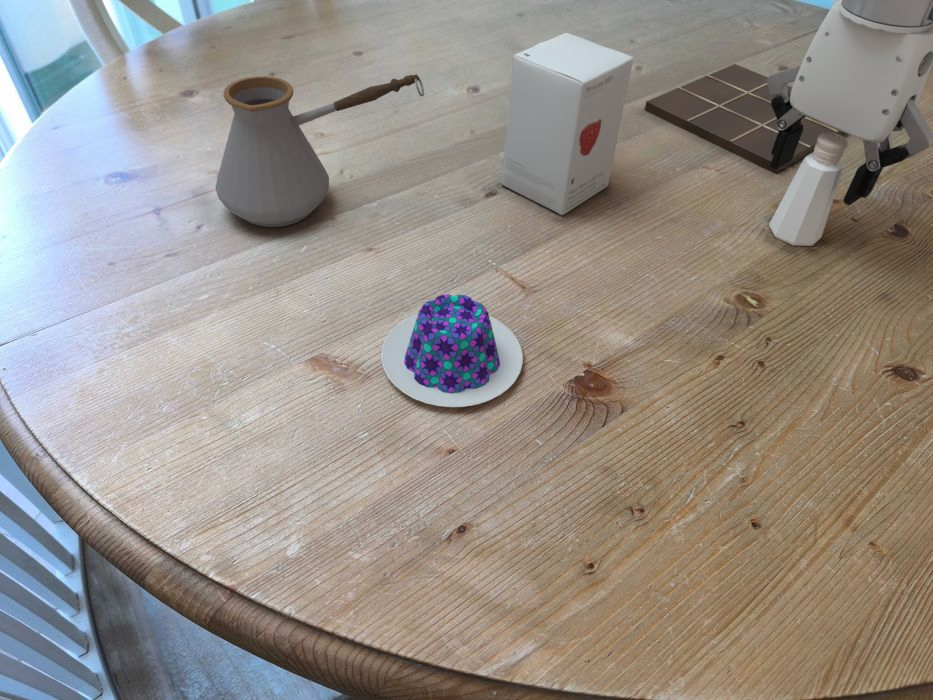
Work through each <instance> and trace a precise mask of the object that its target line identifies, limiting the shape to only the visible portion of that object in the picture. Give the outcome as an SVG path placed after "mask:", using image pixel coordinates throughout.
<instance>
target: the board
mask: <svg viewBox="0 0 933 700" xmlns="http://www.w3.org/2000/svg"><path fill="white" fill-rule="evenodd" d="M768 77H769V76H766V75H763V74H761V73H758V72H756V71H753V70H751V69H748V68H746V67H743V66H741V65H738V64H736V63H733V64H731V65H729V66H726V67H723V68H721V69H718V70H716V71H715V72H712V73H709V74H705V76H703V77H700V78H698V79H696V80H694V81H693V80H692V81H691V82H688V83H686V84H683V85H682V86H677V87H676V88H675V89H672V90H669V91H667V92H665V93H662V94H660V95H658V96H655V97H653V98H650V99H649V100H646V102H645V105H644V111H646V112H649V113H650V114H653V115H655V116H657V117H658V118H661V119H662V120H665V121H666V122H669V123H671V124H673V125H675V126H677V127H679V128H681V129H683V130H685V131H688V132H690V133H692V134H694V135H696V136H698V137H700V138H702V139H704V140H706V141H708V142H710V143H712V144H715V145H717V146H718V147H720V148H722V149H724V150H726V151H729V152H730V153H733V154H734V155H737V156H739V157H741V158H743V159H745V160H747V161H750V162H751V163H753V164H755V165H758V166H759V167H762V168H764V169H766V170H768V171H770V172H772V173H773V174H777V173H779V172H781V171H783V170H784V169H786V168H788V167H790V166H792V165H794V164H795V163H797V162H799V161H800V160H802V159H804V158H805V157H807V156H808V155H809V154H811V153H813V151H814V148H815V145H816V143H817V138H818V136H819V135H820V134H822V133H836V134H839V135H841V136H843V135H845V134H846V133H844V132H842V131H840V130H837V129H835V128H833V127H830V126H828V125H826V124H823V123H821V122H819V121H817V120H814V119H812V118H810V117H805V118H804V119H803V120H802V121H801V124H802V125H803V132H802V135H801V137H800V140H799V142H798V145H797V148H796V150H795V153H794V155H793V158H792V160H791V161H790V162H788V163H787V164H785V165H783V166H781V167H780V168H778V169H773V168H771V167H770V164H771V161H772V158H773V155H772V154H771V152H772V149H773V146H774V143H775V140H776V138H777V135H778V132H779V129H778V128H777V127H776V122H777V121H778V120H777V118H776V115H775V113H774V110H773V108H772V106H771V101H772V97H770V93H769V89H768V86H767V78H768ZM792 87H793V86H790V85H787V89H788V90H787V92H788V94H789V95H790V94H791V90H792Z"/></svg>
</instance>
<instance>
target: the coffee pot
mask: <svg viewBox="0 0 933 700" xmlns="http://www.w3.org/2000/svg"><path fill="white" fill-rule="evenodd" d="M418 82H419V84H418ZM414 84H415V87H416V88H415V89H416V91H417V93H418V95H419V96H420V97H424V96H425V89H424V86H423V82H422V80H421V78H420V76H419V75H418V74H409V75H405V76H404V77H403V78H401V79H397V78H392V79H391V80H390V81H389V82H388V83H387V82H386V83H382V84H377V85H372V86H369V87H366V88H363V89H361V90H359V91H357V92H354V93H353V94H349V95H347V96H345V97H342V98H340V99H337V100H335V101H334V102H333V103H330V104H327V105H324V106H321V107H318V108H314V109H311V110H308V111H305V112H302V113H300V114H297V115H294V114H292V111H291V110H290V109H289V108H290V107H289V105H290V101H291V99H292V98H293V96H294V88H293V86H292V85H291V83H290V82H288V81H286V80H284V79H283V78H278V77H276V76H275V77H274V76H268V75H267V76H266V75H263V76H261V75H259V76H258V75H257V76H256V75H255V76H248V77H245V78H244V77H243V78H241V79H237V80H235V81H233V82H231V83H230V84H228V85H227V86H226V87H225V88H224V91H223V98H224V100H225V102H226V103H227V104H228V105H230V106H231V108H232V110H233V113H234V114H233V117H232V121H231V125H230V128H229V132H228V136H227V140H226V144H225V148H224V152H223V155H222V156H223V157H222V160H221V163H220V166H219V171H218V175H217V178H216V184H215V191H216V194H217V197H218V200H219V201H220V202H221V203H222V204H223V206H224V207H225V208H226V209H227V210H228V211H229V212H230V213H231V214H234V215H236V216H237V217H239V218H241V219H243V220H244V221H247V222H248V223H250V224H252V225H256V226H260V227H265V228H277V227H278V228H281V227H286V226H291V225H294V224H296V223H299V222H301V221H302V220H304V219H306V218H307V217H308V216H309V215H310V214H311V213H312V212H314V211H315V210H316V208H317V207H319V205H321V204H322V203H323V202H324V199H325V198H326V195H327V193H328V190H329V187H330V176H329V174H328V172H327V169H326V168H325V166H324V165H323V163H322V161H321V160H320V158H319V156H318V154H317V153H316V151H315V150H314V148H313V147H312V145H311V143H310V142H309V140H308V138H307V136H306V134H305V133H304V132H303V130H302V128H301V125H303V124H307V123H309V122H312V121H315V120H317V119H319V118H321V117H324V116H327V115H329V114H332V113H334V112H339V111H343V110H346V109H350V108H353V107H357V106H361V105H364V104H366V103H369V102H373V101H376V100H378V99H380V98H381V97H383V96H385V95H387V94H389V93H391V92H395V93H398V92H399V91H400V90H401V88H403V87H410V86H411V85H414ZM419 86H420V87H419ZM420 89H421V90H420Z"/></svg>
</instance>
